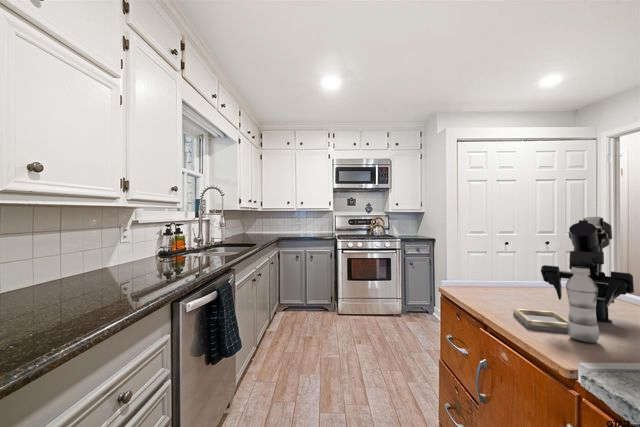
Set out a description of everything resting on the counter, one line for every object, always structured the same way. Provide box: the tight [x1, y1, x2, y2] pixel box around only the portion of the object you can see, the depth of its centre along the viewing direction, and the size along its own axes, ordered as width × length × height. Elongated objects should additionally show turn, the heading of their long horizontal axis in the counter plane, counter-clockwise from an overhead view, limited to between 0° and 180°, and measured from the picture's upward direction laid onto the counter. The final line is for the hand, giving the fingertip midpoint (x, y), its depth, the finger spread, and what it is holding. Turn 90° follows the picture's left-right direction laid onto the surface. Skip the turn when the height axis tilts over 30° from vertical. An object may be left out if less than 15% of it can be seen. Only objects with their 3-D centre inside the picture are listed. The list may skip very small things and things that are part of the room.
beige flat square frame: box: [512, 308, 568, 333], centre depth 85 cm, size 12×12×2 cm
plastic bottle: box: [565, 266, 601, 344], centre depth 74 cm, size 6×7×20 cm
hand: (581, 302), depth 74 cm, fingers open, 9 cm apart
